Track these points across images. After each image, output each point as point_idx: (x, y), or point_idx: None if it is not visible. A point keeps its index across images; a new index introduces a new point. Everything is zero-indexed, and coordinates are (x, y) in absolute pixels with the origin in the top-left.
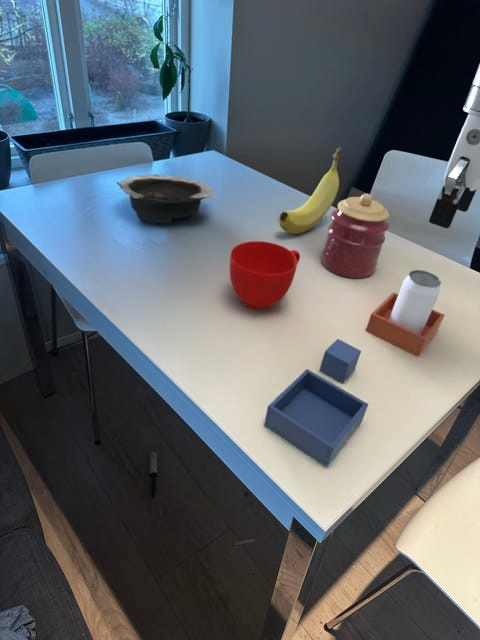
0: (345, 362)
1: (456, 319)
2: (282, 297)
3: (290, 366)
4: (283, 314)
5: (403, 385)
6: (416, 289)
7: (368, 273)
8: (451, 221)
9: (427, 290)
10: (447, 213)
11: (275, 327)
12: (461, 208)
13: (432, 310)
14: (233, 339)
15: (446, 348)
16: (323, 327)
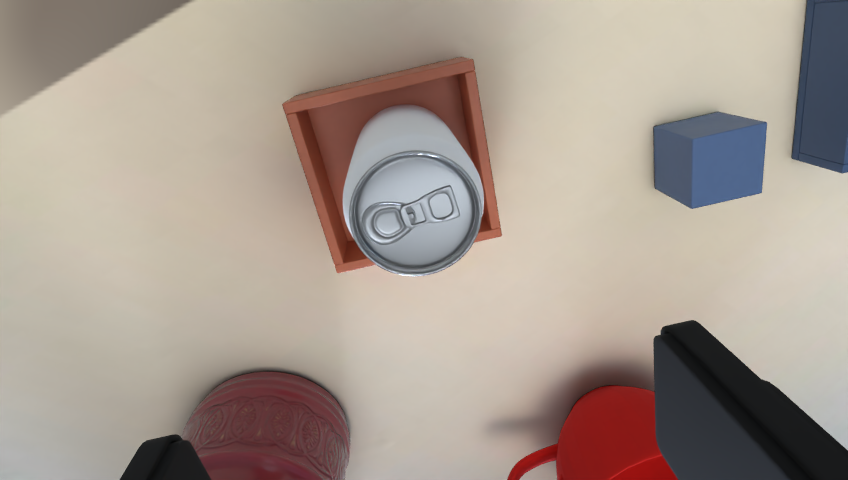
0: (765, 132)
1: (170, 94)
2: (605, 393)
3: (748, 219)
4: (602, 353)
5: (607, 8)
6: (481, 194)
7: (267, 377)
8: (733, 354)
9: (461, 163)
10: (834, 442)
11: (657, 329)
12: (193, 477)
13: (303, 143)
14: (756, 340)
15: (345, 25)
16: (567, 277)
